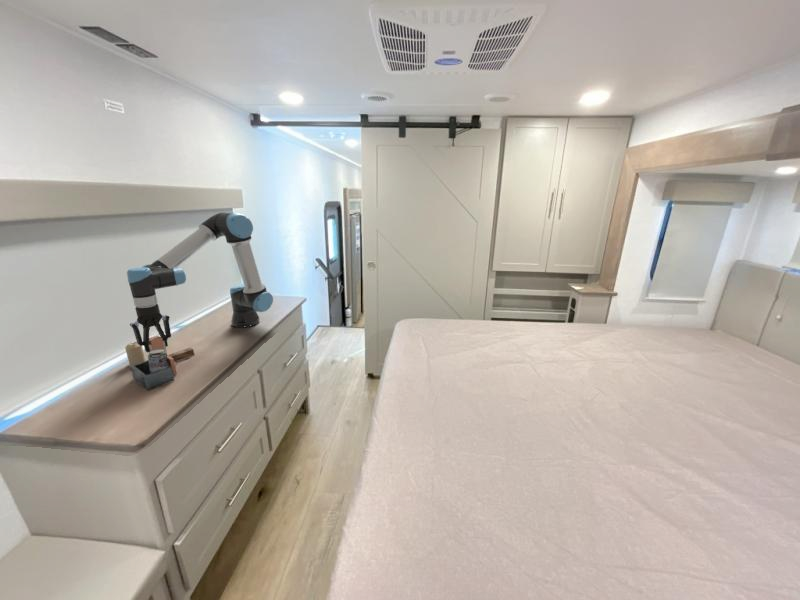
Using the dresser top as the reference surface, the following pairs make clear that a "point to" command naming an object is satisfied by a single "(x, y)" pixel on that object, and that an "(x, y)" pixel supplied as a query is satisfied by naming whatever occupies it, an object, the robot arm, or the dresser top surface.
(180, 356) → the rail
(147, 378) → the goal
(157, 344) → the kicker
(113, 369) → the dresser top surface
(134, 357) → the candle
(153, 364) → the beverage can
